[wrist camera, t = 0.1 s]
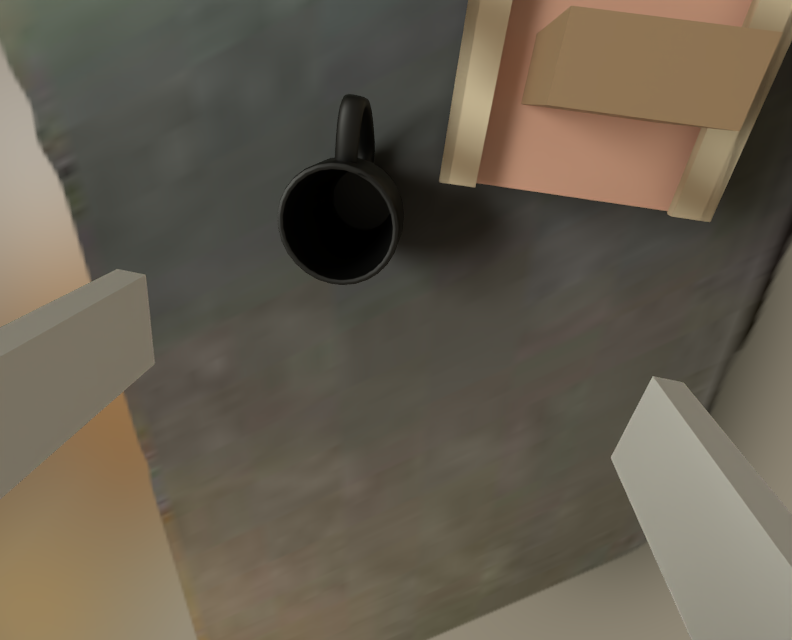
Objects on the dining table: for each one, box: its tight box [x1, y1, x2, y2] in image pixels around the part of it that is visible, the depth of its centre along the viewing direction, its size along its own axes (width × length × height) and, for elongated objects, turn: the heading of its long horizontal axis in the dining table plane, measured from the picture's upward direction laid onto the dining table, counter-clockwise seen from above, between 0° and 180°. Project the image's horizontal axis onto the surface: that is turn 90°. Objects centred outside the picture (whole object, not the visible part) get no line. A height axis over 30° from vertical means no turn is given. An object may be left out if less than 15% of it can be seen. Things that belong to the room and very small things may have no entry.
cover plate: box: [476, 0, 783, 211], centre depth 21 cm, size 16×14×9 cm
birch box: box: [439, 0, 792, 222], centre depth 27 cm, size 18×16×10 cm
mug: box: [278, 94, 404, 285], centre depth 33 cm, size 8×12×10 cm
